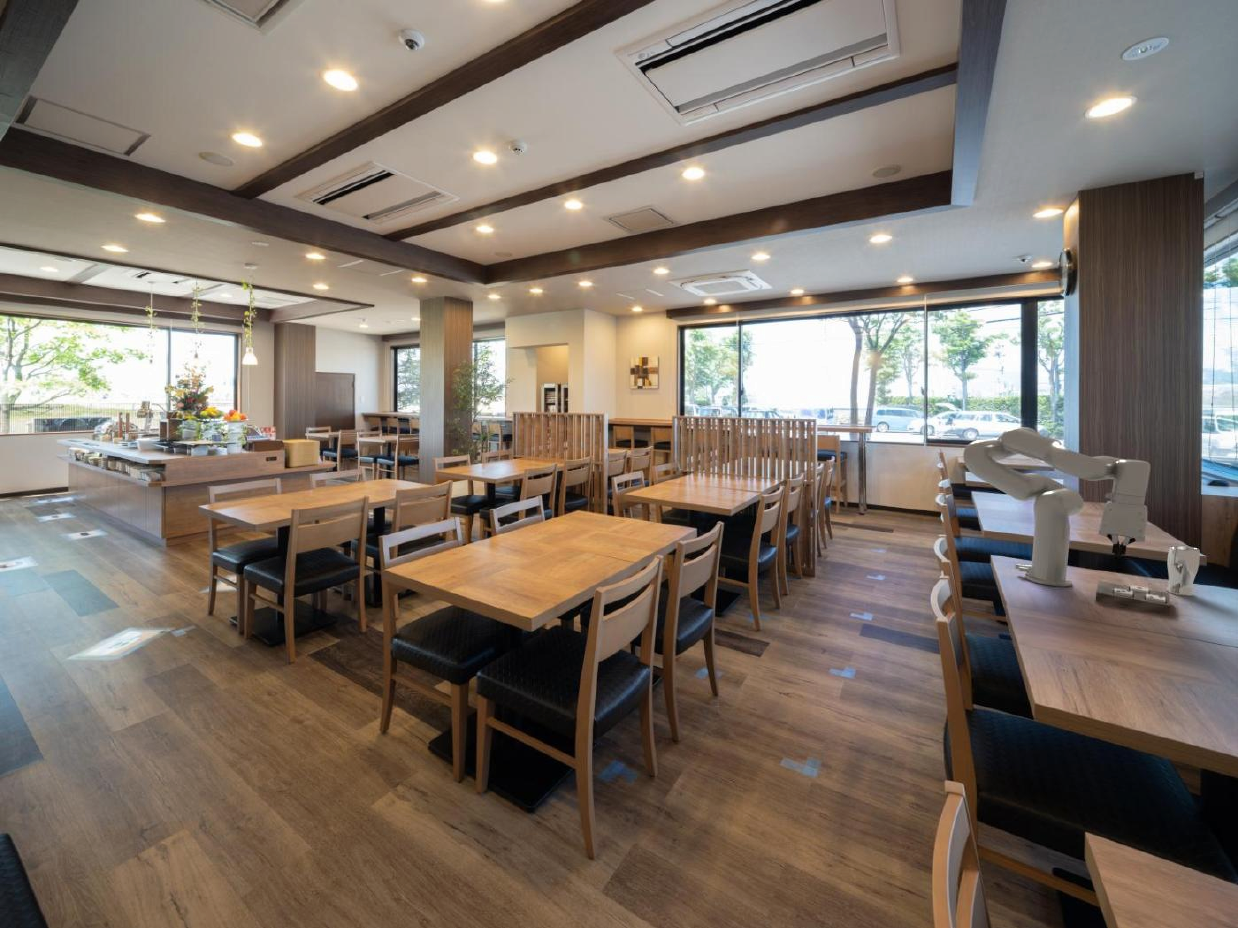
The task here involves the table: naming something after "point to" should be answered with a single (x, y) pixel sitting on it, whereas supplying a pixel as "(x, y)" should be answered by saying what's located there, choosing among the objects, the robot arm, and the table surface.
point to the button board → (1132, 598)
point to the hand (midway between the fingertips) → (1118, 556)
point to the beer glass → (1182, 569)
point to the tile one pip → (1139, 589)
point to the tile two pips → (1155, 598)
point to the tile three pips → (1123, 592)
